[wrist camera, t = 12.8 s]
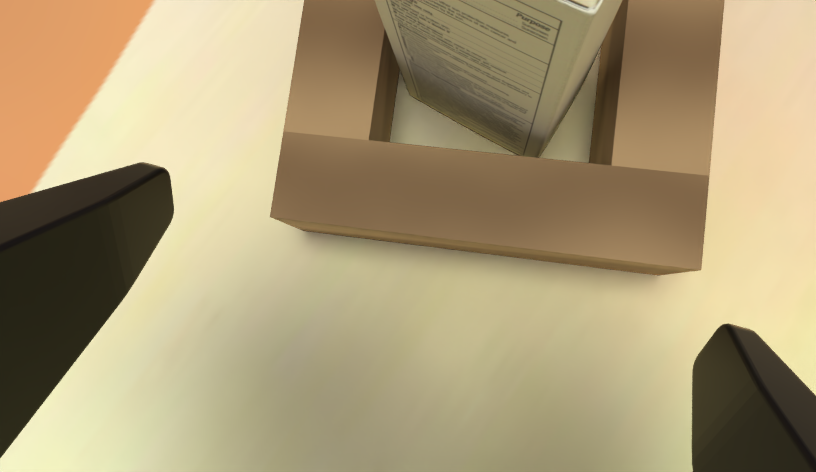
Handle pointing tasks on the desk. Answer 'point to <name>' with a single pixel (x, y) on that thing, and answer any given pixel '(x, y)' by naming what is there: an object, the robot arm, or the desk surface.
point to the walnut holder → (509, 174)
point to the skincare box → (498, 60)
